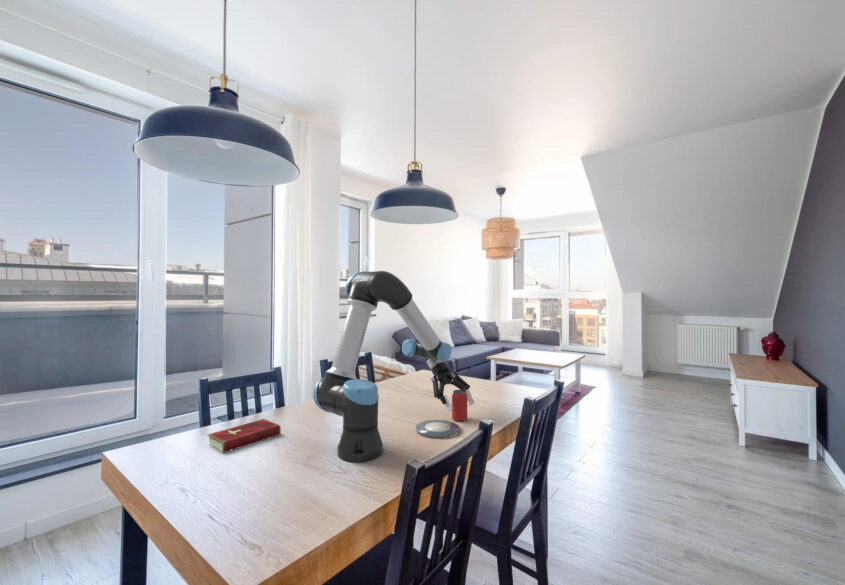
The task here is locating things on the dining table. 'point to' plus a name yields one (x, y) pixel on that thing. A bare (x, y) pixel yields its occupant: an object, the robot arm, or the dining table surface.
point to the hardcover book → (244, 434)
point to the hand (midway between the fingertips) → (462, 407)
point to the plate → (437, 428)
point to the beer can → (459, 405)
